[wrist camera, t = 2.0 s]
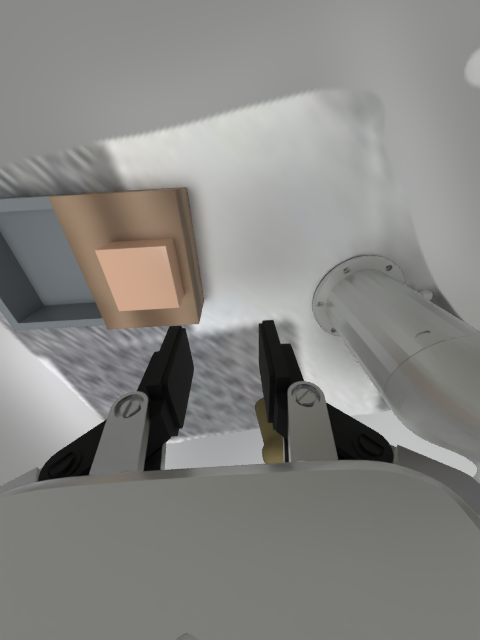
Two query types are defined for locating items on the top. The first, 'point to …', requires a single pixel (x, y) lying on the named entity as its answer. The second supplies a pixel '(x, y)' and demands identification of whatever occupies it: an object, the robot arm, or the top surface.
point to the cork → (269, 436)
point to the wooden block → (128, 225)
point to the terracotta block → (142, 274)
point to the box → (40, 269)
